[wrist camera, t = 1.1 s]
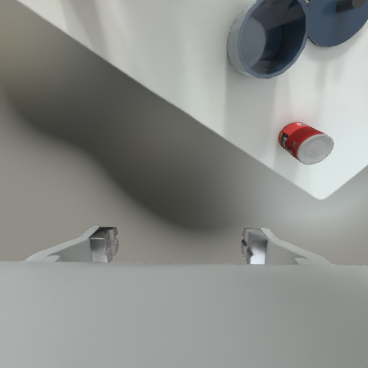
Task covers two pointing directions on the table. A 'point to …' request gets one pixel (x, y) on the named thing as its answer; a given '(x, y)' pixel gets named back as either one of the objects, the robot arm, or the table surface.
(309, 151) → the canned food
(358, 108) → the table surface
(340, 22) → the lid
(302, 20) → the pot
